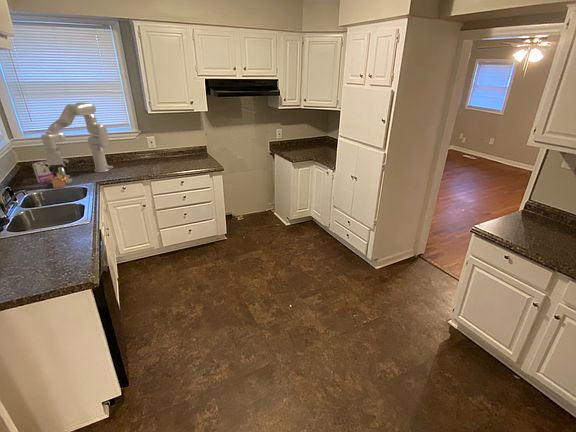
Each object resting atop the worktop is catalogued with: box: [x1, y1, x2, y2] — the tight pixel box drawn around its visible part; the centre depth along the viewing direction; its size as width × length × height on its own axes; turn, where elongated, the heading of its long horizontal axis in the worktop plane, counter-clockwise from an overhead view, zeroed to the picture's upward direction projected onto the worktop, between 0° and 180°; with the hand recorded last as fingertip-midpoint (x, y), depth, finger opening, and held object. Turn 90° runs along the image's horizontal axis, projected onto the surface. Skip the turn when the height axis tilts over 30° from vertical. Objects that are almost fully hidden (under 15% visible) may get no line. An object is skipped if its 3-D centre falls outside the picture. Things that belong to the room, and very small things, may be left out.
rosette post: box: [50, 166, 73, 189], centre depth 252 cm, size 10×20×12 cm, turn 20°
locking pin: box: [56, 171, 63, 179], centre depth 250 cm, size 3×3×10 cm
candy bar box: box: [31, 160, 55, 184], centre depth 255 cm, size 11×5×16 cm, turn 148°
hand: (59, 171), depth 248 cm, fingers open, 9 cm apart
